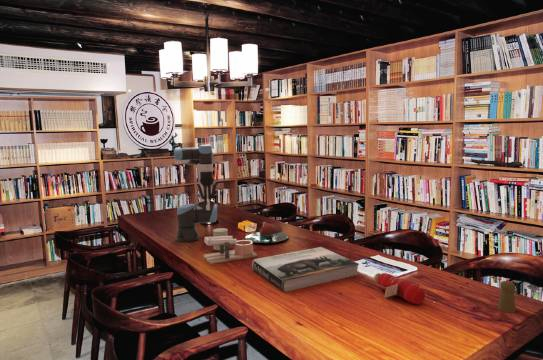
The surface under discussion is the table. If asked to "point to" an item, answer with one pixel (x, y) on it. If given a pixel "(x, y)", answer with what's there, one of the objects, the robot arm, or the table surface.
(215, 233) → the can
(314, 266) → the book
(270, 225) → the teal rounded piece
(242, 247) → the cup
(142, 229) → the table surface
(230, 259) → the stand
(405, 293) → the red elongated piece
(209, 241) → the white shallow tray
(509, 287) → the green chess rook
